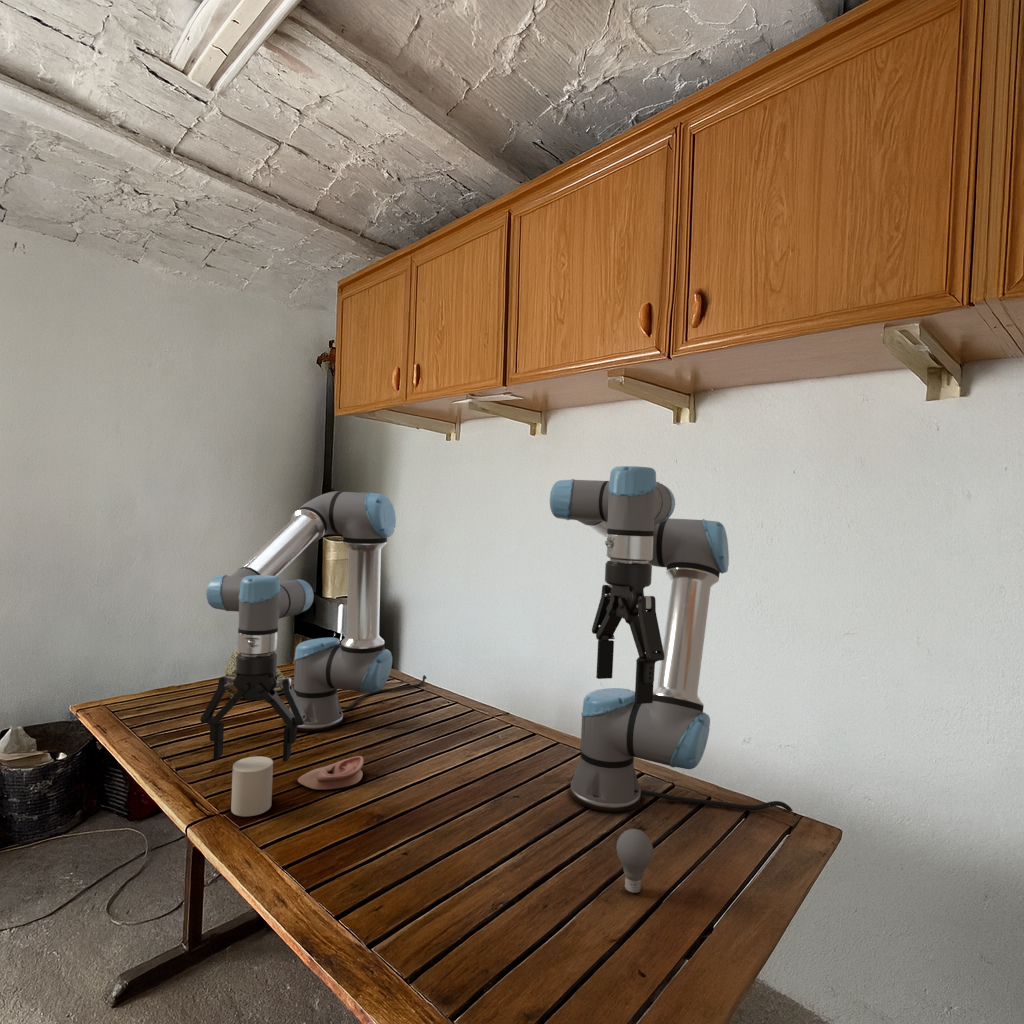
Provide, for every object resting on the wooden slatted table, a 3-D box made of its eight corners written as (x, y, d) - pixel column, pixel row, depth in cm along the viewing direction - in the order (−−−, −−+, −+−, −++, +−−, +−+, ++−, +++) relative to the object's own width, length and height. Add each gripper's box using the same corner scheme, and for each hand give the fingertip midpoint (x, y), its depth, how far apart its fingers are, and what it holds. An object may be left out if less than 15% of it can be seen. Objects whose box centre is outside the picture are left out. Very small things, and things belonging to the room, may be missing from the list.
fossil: (218, 695, 195) (220, 647, 195) (278, 685, 208) (279, 640, 207) (228, 703, 189) (230, 653, 188) (289, 692, 201) (290, 645, 201)
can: (222, 810, 126) (224, 766, 126) (252, 795, 133) (253, 753, 133) (250, 820, 123) (252, 774, 123) (279, 803, 130) (281, 760, 130)
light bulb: (610, 879, 108) (613, 822, 108) (644, 879, 109) (647, 822, 109) (619, 902, 102) (622, 840, 102) (655, 901, 103) (658, 840, 103)
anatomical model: (290, 768, 137) (317, 748, 149) (290, 786, 138) (316, 764, 149) (347, 776, 135) (370, 755, 146) (346, 794, 135) (369, 772, 146)
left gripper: (185, 655, 123) (180, 763, 123) (315, 659, 124) (310, 767, 125) (202, 646, 131) (197, 748, 131) (324, 650, 132) (319, 752, 132)
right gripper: (576, 553, 114) (571, 670, 115) (647, 569, 91) (640, 716, 91) (614, 554, 117) (609, 668, 117) (692, 570, 93) (685, 713, 93)
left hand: (252, 758), depth 128 cm, fingers open, 13 cm apart
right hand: (622, 689), depth 104 cm, fingers open, 13 cm apart
